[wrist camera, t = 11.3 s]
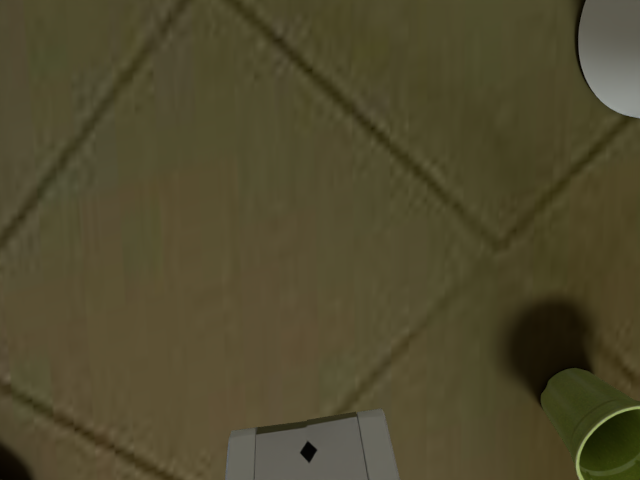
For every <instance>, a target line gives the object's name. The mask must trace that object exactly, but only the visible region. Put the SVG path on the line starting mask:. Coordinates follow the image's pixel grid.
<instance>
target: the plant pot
mask: <svg viewBox="0 0 640 480" xmlns="http://www.w3.org/2000/svg"><path fill="white" fill-rule="evenodd" d="M541 405H542V408H543V410H544V411H545V413H546V415H547V416H548V418H549V419H550V421H551V423H552V424H553V426H554V427H555V429H556V431H557V432H558V434H559V435H560V437H561V438H562V440H563V442H564V443H565V445H566V447H567V448H568V450H569V452H570V453H571V457H572V460H573V462H574V466H575V471H576V474H577V476H578V478H579V480H640V402H639V401H636V400H633V399H632V398H630V397H629V396H627V395H625V394H624V393H622V392H621V391H619V390H617V389H616V388H614V387H613V386H611V385H609V384H608V383H606V382H605V381H603V380H601V379H600V378H598V377H597V376H595V375H593V374H592V373H590V372H589V371H586V370H582V369H578V368H570V369H566V370H563V371H561V372H559V373H557V374H556V375H554V376H553V377H552V378H551V379H550V380H549V381H548V384H547V386H546V389H545V390H544V391H543V392H542V394H541Z"/></svg>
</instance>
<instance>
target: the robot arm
mask: <svg viewBox="0 0 640 480" xmlns="http://www.w3.org/2000/svg"><path fill="white" fill-rule="evenodd" d="M578 48H579V57H580V63H581V67H582V70H583V73H584V76H585V78H586V80H587V82H588V84H589V86H590V88H591V89H592V91H593V92H594V94H595V95H596V96H597V97H598V98H599V99H600V100H601V101H602V102H603V103H604V104H605V105H606V106H608V107H609V108H611V109H613V110H614V111H616V112H618V113H621V114H623V115H627V116H631V117H636V118H640V0H586V1H585V4H584V7H583V11H582V15H581V20H580V25H579V35H578ZM225 480H400V478H399V474H398V469H397V465H396V461H395V456H394V452H393V448H392V444H391V439H390V435H389V431H388V426H387V422H386V418H385V414H384V412H383V410H382V408H381V409H375V410H369V411H363V412H357V414H356V412H352V413H346V414H340V415H334V416H328V417H322V418H316V419H310V420H307V421H302V422H295V423H287V424H279V425H272V426H264V427H255V428H248V429H242V430H235V431H231V435H230V438H229V443H228V454H227V466H226V477H225Z"/></svg>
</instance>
